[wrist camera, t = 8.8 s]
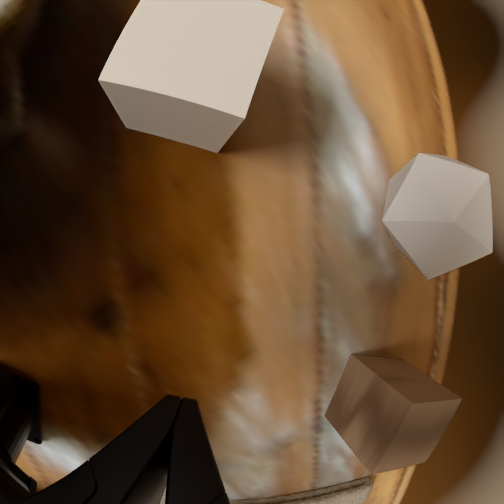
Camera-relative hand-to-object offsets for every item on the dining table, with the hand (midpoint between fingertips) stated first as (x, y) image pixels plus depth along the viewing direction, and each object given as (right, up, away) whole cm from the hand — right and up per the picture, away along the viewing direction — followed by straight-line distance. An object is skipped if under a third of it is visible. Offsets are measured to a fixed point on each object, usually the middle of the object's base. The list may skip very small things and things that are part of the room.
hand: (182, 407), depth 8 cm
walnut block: (+12, -7, +16) cm, 21 cm away
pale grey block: (-2, +14, +10) cm, 17 cm away
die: (+14, +8, +15) cm, 22 cm away
